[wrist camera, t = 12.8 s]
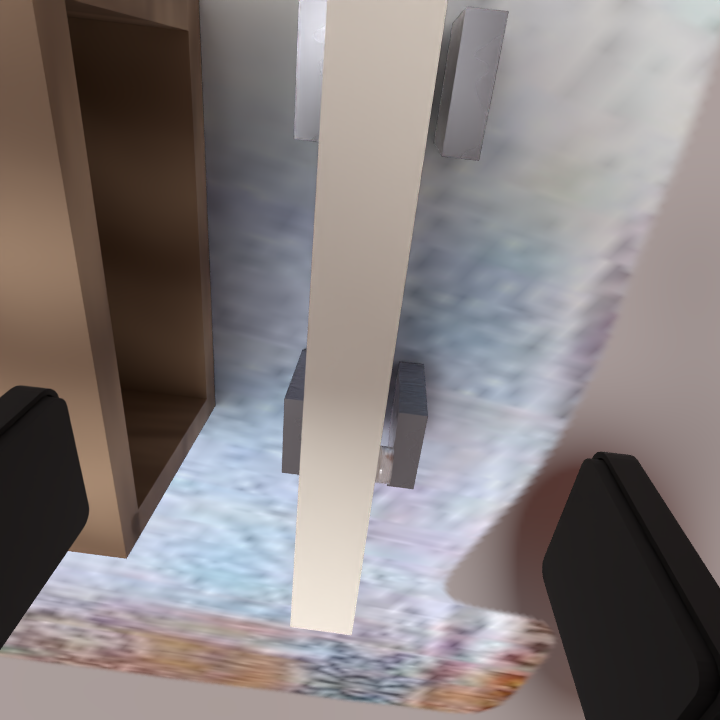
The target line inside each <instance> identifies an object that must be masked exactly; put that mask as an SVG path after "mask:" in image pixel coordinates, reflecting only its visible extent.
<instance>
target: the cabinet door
mask: <svg viewBox="0 0 720 720" xmlns="http://www.w3.org/2000/svg"><path fill="white" fill-rule="evenodd" d="M447 3H448V0H327V11H326V29H325V46H324V63H323V80H322V97H321V114H320V131H319V148H318V165H317V182H316V199H315V216H314V233H313V250H312V267H311V284H310V301H309V318H308V335H307V352H306V369H305V386H304V403H303V420H302V437H301V454H300V471H299V488H298V505H297V522H296V539H295V557H294V574H293V591H292V608H291V625H290V627H295V628H302V629H309V630H317V631H324V632H331V633H339V634H346V635H352V629H353V622H354V616H355V609H356V603H357V596H358V589H359V583H360V576H361V570H362V563H363V556H364V550H365V543H366V537H367V530H368V523H369V517H370V510H371V504H372V497H373V490H374V484H375V483H382V484H390V481H391V475H392V468H393V458H394V447H388V446H380V444H381V438H382V431H383V425H384V418H385V411H386V405H387V398H388V392H389V385H390V378H391V372H392V365H393V359H394V352H395V346H396V339H397V332H398V326H399V319H400V313H401V306H402V299H403V293H404V286H405V280H406V273H407V266H408V260H409V253H410V247H411V240H412V233H413V227H414V220H415V214H416V207H417V201H418V194H419V187H420V181H421V174H422V168H423V161H424V154H425V148H426V141H427V135H428V128H429V121H430V115H431V108H432V102H433V95H434V89H435V82H436V75H437V69H438V62H439V56H440V49H441V42H442V36H443V29H444V23H445V16H446V9H447Z"/></svg>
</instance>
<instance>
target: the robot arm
mask: <svg viewBox="0 0 720 720" xmlns="http://www.w3.org/2000/svg"><path fill="white" fill-rule="evenodd" d="M88 516H89V503H88V499H87V494H86V490H85V485H84V480H83V476H82V471H81V467H80V462H79V457H78V453H77V448H76V444H75V439H74V434H73V430H72V425H71V421H70V416H69V411H68V407H67V404H66V401H65V400H64V399H62V398H59V396H58V394H57V393H56V391H55V390H53V389H49V388H41V387H32V386H23V385H19V386H15V387H13V388H11V389H10V390H8V391H7V392H6V393H5V394H4V395H2V396H1V397H0V649H1V648H2V647H3V645H4V644H5V642H6V641H7V639H8V638H9V636H10V635H11V633H12V632H13V630H14V629H15V628H16V626H17V625H18V623H19V622H20V620H21V619H22V617H23V616H24V614H25V613H26V612H27V610H28V609H29V607H30V606H31V604H32V603H33V601H34V600H35V598H36V597H37V595H38V594H39V593H40V591H41V590H42V588H43V587H44V585H45V584H46V582H47V581H48V579H49V578H50V576H51V575H52V574H53V572H54V571H55V569H56V568H57V566H58V565H59V563H60V562H61V560H62V559H63V557H64V556H65V555H66V553H67V552H68V550H69V549H70V547H71V546H72V544H73V543H74V541H75V540H76V538H77V537H78V536H79V534H80V533H81V531H82V530H83V528H84V526H85V525H86V522H87V520H88ZM542 573H543V579H544V583H545V586H546V590H547V593H548V596H549V599H550V603H551V606H552V610H553V613H554V616H555V619H556V622H557V626H558V630H559V633H560V636H561V639H562V643H563V646H564V649H565V653H566V656H567V659H568V663H569V666H570V669H571V673H572V676H573V679H574V683H575V686H576V689H577V693H578V696H579V699H580V702H581V706H582V709H583V712H584V716H585V719H586V720H720V588H719V586H718V585H717V583H716V581H715V580H714V578H713V577H712V575H711V574H710V572H709V571H708V569H707V567H706V566H705V564H704V563H703V561H702V560H701V558H700V556H699V555H698V553H697V552H696V550H695V549H694V547H693V546H692V544H691V542H690V541H689V539H688V538H687V536H686V535H685V533H684V532H683V530H682V529H681V527H680V525H679V524H678V522H677V521H676V519H675V518H674V516H673V514H672V513H671V511H670V510H669V508H668V507H667V505H666V503H665V502H664V500H663V499H662V497H661V496H660V494H659V493H658V491H657V490H656V488H655V486H654V485H653V483H652V482H651V480H650V479H649V477H648V476H647V474H646V472H645V471H644V469H643V468H642V467H641V465H640V463H639V462H638V460H637V459H636V458H635V457H634V456H631V455H626V454H617V453H608V452H597V453H596V454H595V455H594V456H593V458H592V459H586V460H584V462H583V463H582V465H581V468H580V470H579V473H578V475H577V478H576V480H575V483H574V485H573V488H572V490H571V493H570V495H569V498H568V500H567V503H566V505H565V508H564V510H563V512H562V515H561V517H560V520H559V522H558V525H557V527H556V530H555V532H554V534H553V537H552V540H551V542H550V544H549V547H548V549H547V552H546V554H545V557H544V560H543V566H542Z"/></svg>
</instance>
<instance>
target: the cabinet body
mask: <svg viewBox="0 0 720 720" xmlns="http://www.w3.org/2000/svg"><path fill="white" fill-rule="evenodd" d="M19 385H23V386H32V387H41V388H49V389H53V390H55V391H56V393H57V394H58V396H59V398H62V399H64V400H65V401H66V404H67V407H68V411H69V416H70V421H71V425H72V430H73V434H74V439H75V444H76V448H77V453H78V457H79V462H80V467H81V471H82V476H83V480H84V485H85V490H86V494H87V499H88V503H89V516H88V520H87V522H86V525H85V526H84V528H83V530H82V531H81V533H80V534H79V536H78V537H77V538H76V540H75V541H74V543H73V544H72V546H71V547H70V549H69V550H68V551H72V552H80V553H88V554H95V555H103V556H111V557H119V558H126V559H127V557H128V555H129V554H130V552H131V550H132V548H133V547H134V545H135V543H136V541H137V540H138V538H139V536H140V535H141V533H142V531H143V529H144V528H145V526H146V524H147V523H148V521H149V519H150V517H151V516H152V514H153V512H154V511H155V509H156V507H157V505H158V504H159V502H160V500H161V498H162V497H163V495H164V493H165V492H166V490H167V488H168V486H169V485H170V483H171V481H172V480H173V478H174V476H175V474H176V473H177V471H178V469H179V468H180V466H181V464H182V462H183V461H184V459H185V457H186V455H187V454H188V452H189V450H190V449H191V447H192V445H193V443H194V442H195V440H196V438H197V437H198V435H199V433H200V431H201V430H202V428H203V426H204V425H205V423H206V421H207V419H208V418H209V416H210V414H211V412H212V411H213V409H214V407H215V385H214V361H213V336H212V312H211V287H210V263H209V238H208V214H207V190H206V165H205V141H204V116H203V92H202V67H201V43H200V19H199V0H0V397H1V396H2V395H4V394H5V393H6V392H7V391H8V390H10V389H11V388H13V387H15V386H19Z"/></svg>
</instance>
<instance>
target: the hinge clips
mask: <svg viewBox="0 0 720 720" xmlns="http://www.w3.org/2000/svg"><path fill="white" fill-rule="evenodd" d="M326 11H327V0H299V11H298V39H297V67H296V94H295V122H294V139H298V140H307V141H315V142H319V131H320V114H321V97H322V80H323V63H324V46H325V29H326ZM508 12H509V11H501V10H492V9H483V8H474V7H466V8H465V9H464V10H463V12H462V13H461V14H460V15H459V17H458V18H457V19H456V20H455V21H454V23H453V24H452V30H451V36H450V43H449V49H448V55H447V62H446V68H445V74H444V81H443V87H442V93H441V100H440V106H439V112H438V119H437V125H436V132H435V138H434V144H435V146H436V148H437V149H438V151H439V153H440V154H441V156H444V157H452V158H461V159H469V160H478V161H479V158H480V153H481V148H482V142H483V137H484V132H485V127H486V122H487V117H488V112H489V107H490V102H491V97H492V92H493V87H494V82H495V77H496V72H497V67H498V62H499V57H500V52H501V47H502V42H503V37H504V32H505V27H506V22H507V17H508ZM306 352H307V350H302V353H301V356H300V358H299V361H298V364H297V366H296V369H295V372H294V374H293V377H292V380H291V382H290V385H289V388H288V391H287V393H286V396H285V399H284V426H283V454H282V473H289V474H297V475H299V471H300V454H301V437H302V420H303V403H304V386H305V369H306ZM427 418H428V412H427V400H426V388H425V376H424V364H416V363H408V362H399V367H398V373H397V380H396V386H395V392H394V399H393V405H392V411H391V418H390V424H389V441H388V447H394V458H393V468H392V475H391V481H390V484H387V486H393V487H400V488H408V489H414V484H415V479H416V474H417V468H418V463H419V458H420V453H421V448H422V443H423V438H424V433H425V428H426V423H427Z"/></svg>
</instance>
